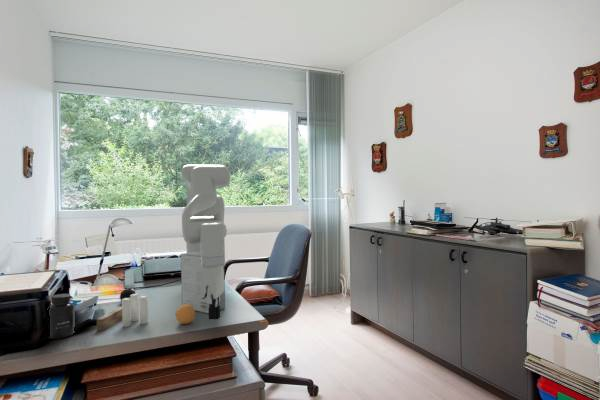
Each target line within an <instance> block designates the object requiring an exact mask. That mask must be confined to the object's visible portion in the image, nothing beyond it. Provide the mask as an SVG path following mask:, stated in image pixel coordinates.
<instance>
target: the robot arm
mask: <svg viewBox="0 0 600 400" xmlns="http://www.w3.org/2000/svg"><path fill="white" fill-rule="evenodd" d="M180 172H181V177H182V180H183V181H184V183H185V185H186V187H187V190H186V191H187V192H186V193H187V204H186V206H185V207H184V209H183V211H182V215H181V230H182V231H181V232H182V237H183V240H184V242H185V245H186V253H190V252H201V267H203V268H202V273H201V299H205V298H206V297H207V304H208V307H209V313H208V319H209V320H219V319H221V310H220V296H221V294H222V293H223V292H224V279H225V270H224V271H223V266H224V267H225V266H226V250H225V249H226V247H225V245H226V244H225V242H226V241H225V238H226V237H227V225H226V224H225V223H224V222H225V201H224V198H223V197H222V195H219V194H218V193H217V188H227V187H228V186H229V185H230V183H231V174H230V173H231V172H230V170H229V168H228V166H226V165H224V164H185V165H183V166H182V167H181V171H180Z"/></svg>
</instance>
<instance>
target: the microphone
mask: <svg viewBox="0 0 600 400" xmlns="http://www.w3.org/2000/svg"><path fill="white" fill-rule="evenodd" d="M132 294H136V292H135V290H133V289H131V288H125V289H124V290H123V291H121V292H120V296H119V299H120V302H121V303H122V299H124V298H130V295H132Z"/></svg>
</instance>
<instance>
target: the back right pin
mask: <svg viewBox="0 0 600 400" xmlns="http://www.w3.org/2000/svg"><path fill="white" fill-rule="evenodd" d="M130 314H131V322H138V321H140V304H139V293H135V294H132V295H130Z"/></svg>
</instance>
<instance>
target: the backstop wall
mask: <svg viewBox="0 0 600 400" xmlns="http://www.w3.org/2000/svg"><path fill="white" fill-rule="evenodd" d="M120 321H122V305H121V306H119V307H117V308H115V309H113V310H111V311H109V312H108V313H105V314H104V315H102V316H100V317H98V318H96V331H101V332H102V331H105V330H106V329H108V328H110V327H111V326H114V325H115V324H117V323H119V322H120Z"/></svg>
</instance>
